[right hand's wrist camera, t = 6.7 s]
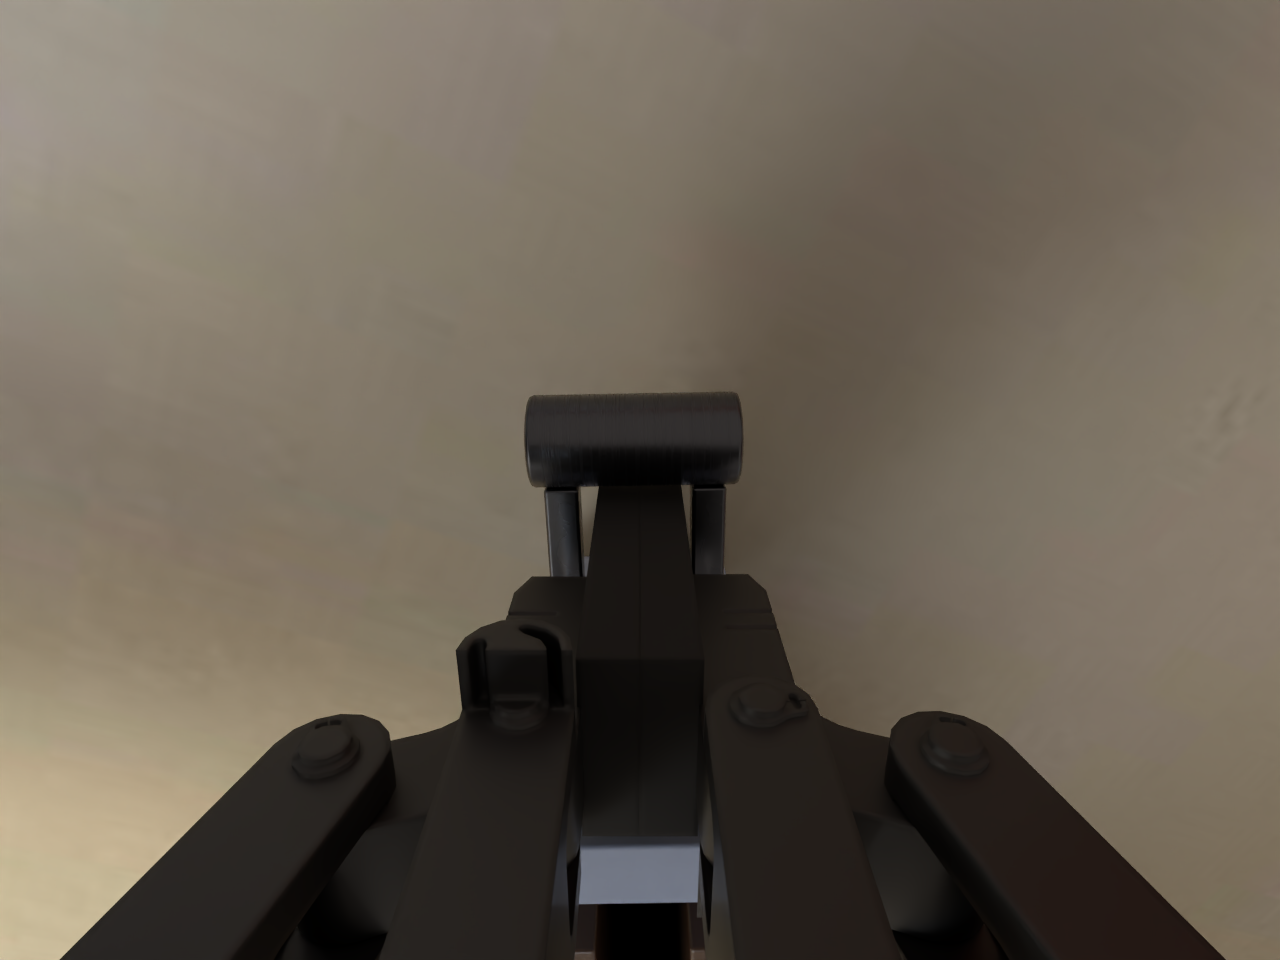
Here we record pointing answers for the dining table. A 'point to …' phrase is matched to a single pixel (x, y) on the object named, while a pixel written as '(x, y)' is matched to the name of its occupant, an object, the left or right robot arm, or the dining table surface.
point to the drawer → (563, 462)
